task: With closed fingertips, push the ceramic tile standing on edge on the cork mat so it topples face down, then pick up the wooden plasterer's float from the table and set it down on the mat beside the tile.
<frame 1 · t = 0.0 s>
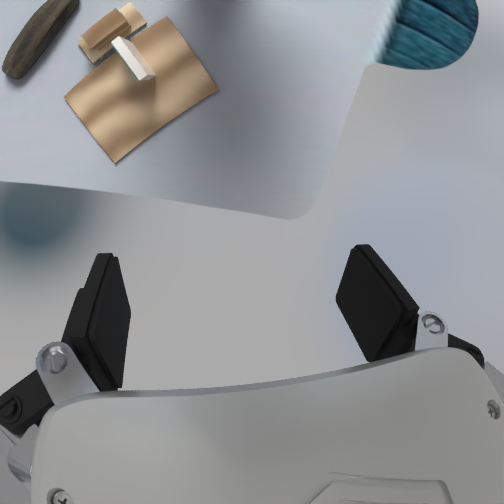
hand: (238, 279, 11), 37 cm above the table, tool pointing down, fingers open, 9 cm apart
cork mat: (137, 89, 36), on the table
decorative stone: (43, 32, 25), on the table
wooden float: (112, 32, 29), on the table
tile: (140, 60, 33), point 1 cm above the table, touching cork mat
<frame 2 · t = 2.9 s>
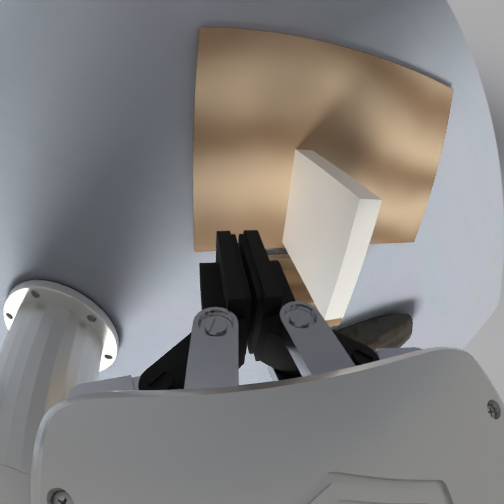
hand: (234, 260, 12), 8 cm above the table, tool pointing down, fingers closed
cork mat: (339, 151, 19), on the table
decorative stone: (344, 339, 33), on the table
wooden float: (289, 275, 25), on the table
tile: (296, 198, 20), point 1 cm above the table, touching cork mat
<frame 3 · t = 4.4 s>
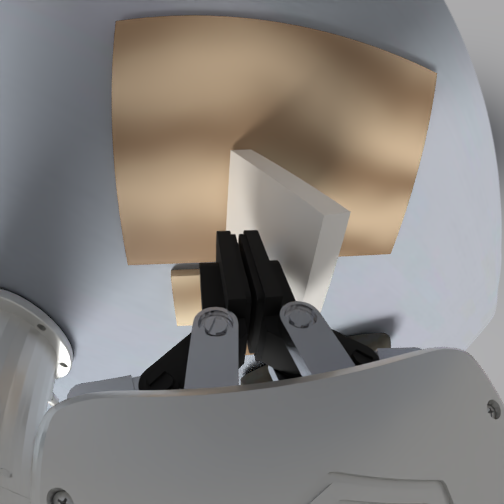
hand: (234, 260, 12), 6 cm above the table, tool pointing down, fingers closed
cork mat: (289, 149, 16), on the table
decorative stone: (314, 358, 30), on the table
wooden float: (239, 290, 22), on the table
tile: (236, 207, 17), point 1 cm above the table, tilted 14°, touching cork mat
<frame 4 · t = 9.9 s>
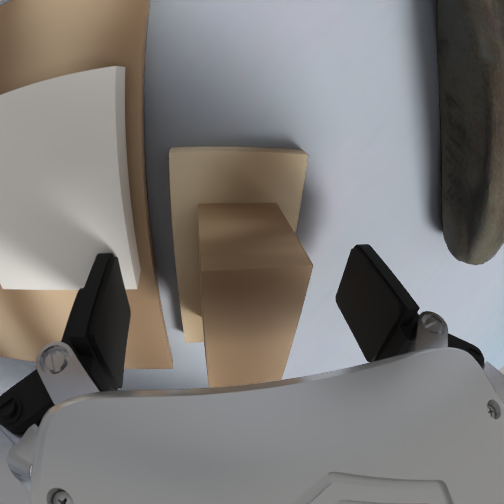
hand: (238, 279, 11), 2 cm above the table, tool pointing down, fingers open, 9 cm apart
cork mat: (5, 224, 10), on the table
decorative stone: (469, 105, 11), on the table
wooden float: (231, 253, 13), on the table
tile: (64, 280, 10), point 1 cm above the table, tilted 90°, touching cork mat, gripper
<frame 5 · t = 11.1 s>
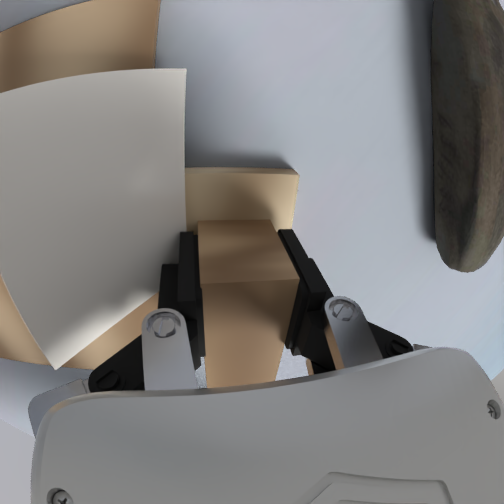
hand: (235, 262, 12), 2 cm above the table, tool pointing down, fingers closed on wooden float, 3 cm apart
cork mat: (20, 235, 11), on the table
decorative stone: (461, 121, 12), on the table
wooden float: (229, 265, 14), on the table, touching gripper, tile
tile: (117, 307, 10), point 3 cm above the table, tilted 89°, touching cork mat, gripper, wooden float
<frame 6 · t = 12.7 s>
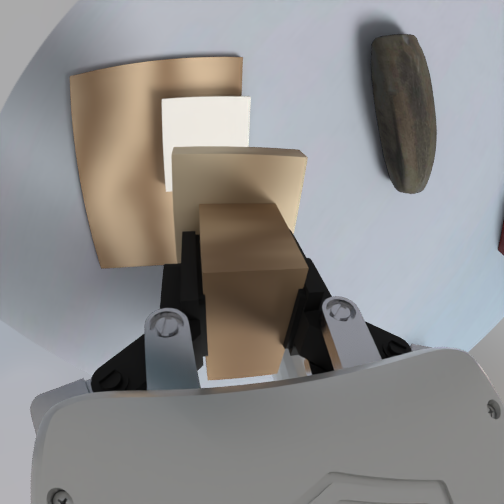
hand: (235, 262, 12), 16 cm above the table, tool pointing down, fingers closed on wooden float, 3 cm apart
cork mat: (156, 169, 24), on the table
decorative stone: (397, 110, 25), on the table
wooden float: (231, 250, 14), point 14 cm above the table, touching gripper
tile: (206, 187, 25), point 1 cm above the table, tilted 90°, touching cork mat
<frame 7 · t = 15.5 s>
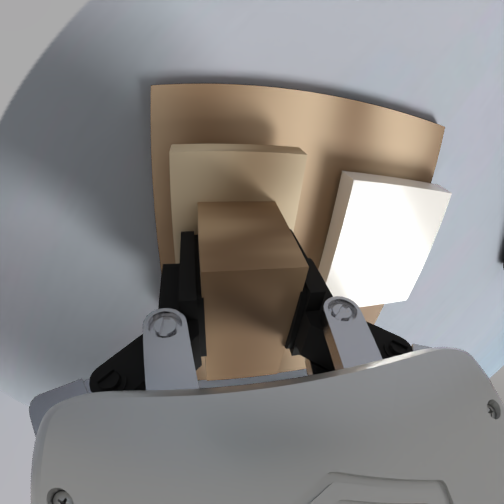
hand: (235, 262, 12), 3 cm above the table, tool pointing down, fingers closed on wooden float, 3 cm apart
cork mat: (295, 272, 17), on the table
wooden float: (230, 249, 13), point 1 cm above the table, touching gripper
tile: (362, 299, 17), point 1 cm above the table, tilted 90°, touching cork mat
when the fingers open (2 cm above the table, at t = 16.3 s): wooden float stays where it is, resting on cork mat.
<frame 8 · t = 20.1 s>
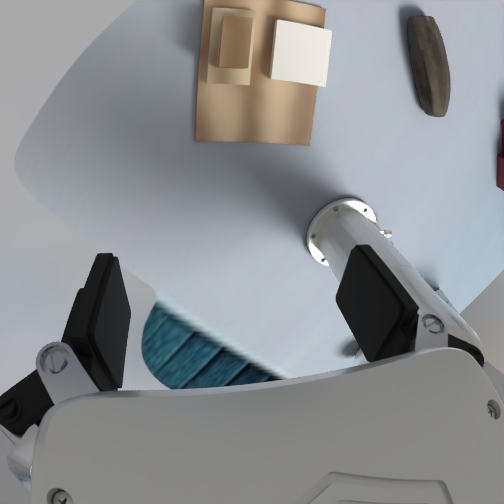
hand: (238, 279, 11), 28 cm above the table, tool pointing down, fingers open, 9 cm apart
ghost figurine: (365, 346, 71), on the table
cork mat: (260, 67, 30), on the table
decorative stone: (423, 64, 32), on the table
wooden float: (230, 46, 27), point 1 cm above the table, touching cork mat
tile: (297, 82, 31), point 1 cm above the table, tilted 90°, touching cork mat
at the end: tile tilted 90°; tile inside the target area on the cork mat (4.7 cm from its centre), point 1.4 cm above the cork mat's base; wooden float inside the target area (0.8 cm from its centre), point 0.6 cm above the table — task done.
